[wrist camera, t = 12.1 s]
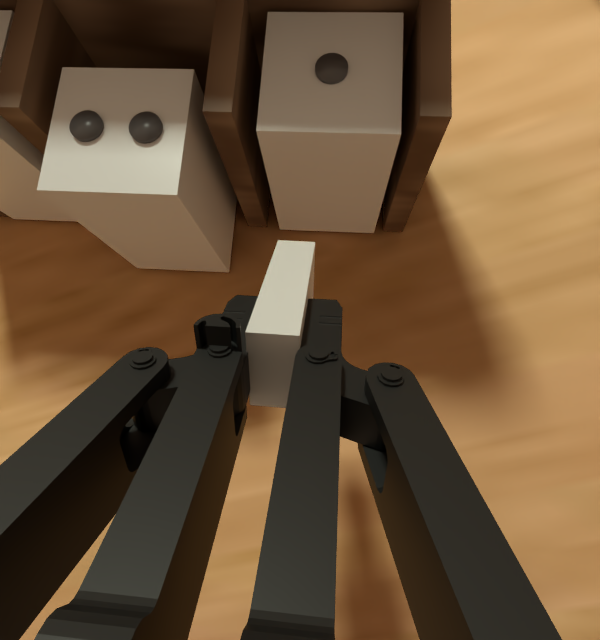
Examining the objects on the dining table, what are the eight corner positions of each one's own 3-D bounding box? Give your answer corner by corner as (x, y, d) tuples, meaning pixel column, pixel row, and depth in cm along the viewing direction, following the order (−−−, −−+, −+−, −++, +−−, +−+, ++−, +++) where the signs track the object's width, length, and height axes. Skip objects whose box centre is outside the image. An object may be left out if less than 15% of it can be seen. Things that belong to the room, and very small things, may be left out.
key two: (238, 186, 29) (192, 65, 19) (229, 272, 28) (175, 192, 18) (150, 183, 29) (59, 63, 19) (137, 268, 28) (33, 187, 18)
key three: (113, 141, 30) (9, 6, 20) (99, 222, 29) (-20, 121, 19) (30, 139, 30) (-113, 5, 20) (13, 219, 29) (-148, 118, 19)
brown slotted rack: (404, 118, 29) (508, -266, 13) (401, 231, 28) (518, -41, 11) (15, 110, 31) (-336, -235, 15) (-9, 215, 29) (-437, -39, 13)
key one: (376, 148, 29) (404, 8, 19) (373, 233, 28) (401, 131, 18) (286, 146, 29) (267, 7, 19) (279, 229, 28) (255, 127, 18)
